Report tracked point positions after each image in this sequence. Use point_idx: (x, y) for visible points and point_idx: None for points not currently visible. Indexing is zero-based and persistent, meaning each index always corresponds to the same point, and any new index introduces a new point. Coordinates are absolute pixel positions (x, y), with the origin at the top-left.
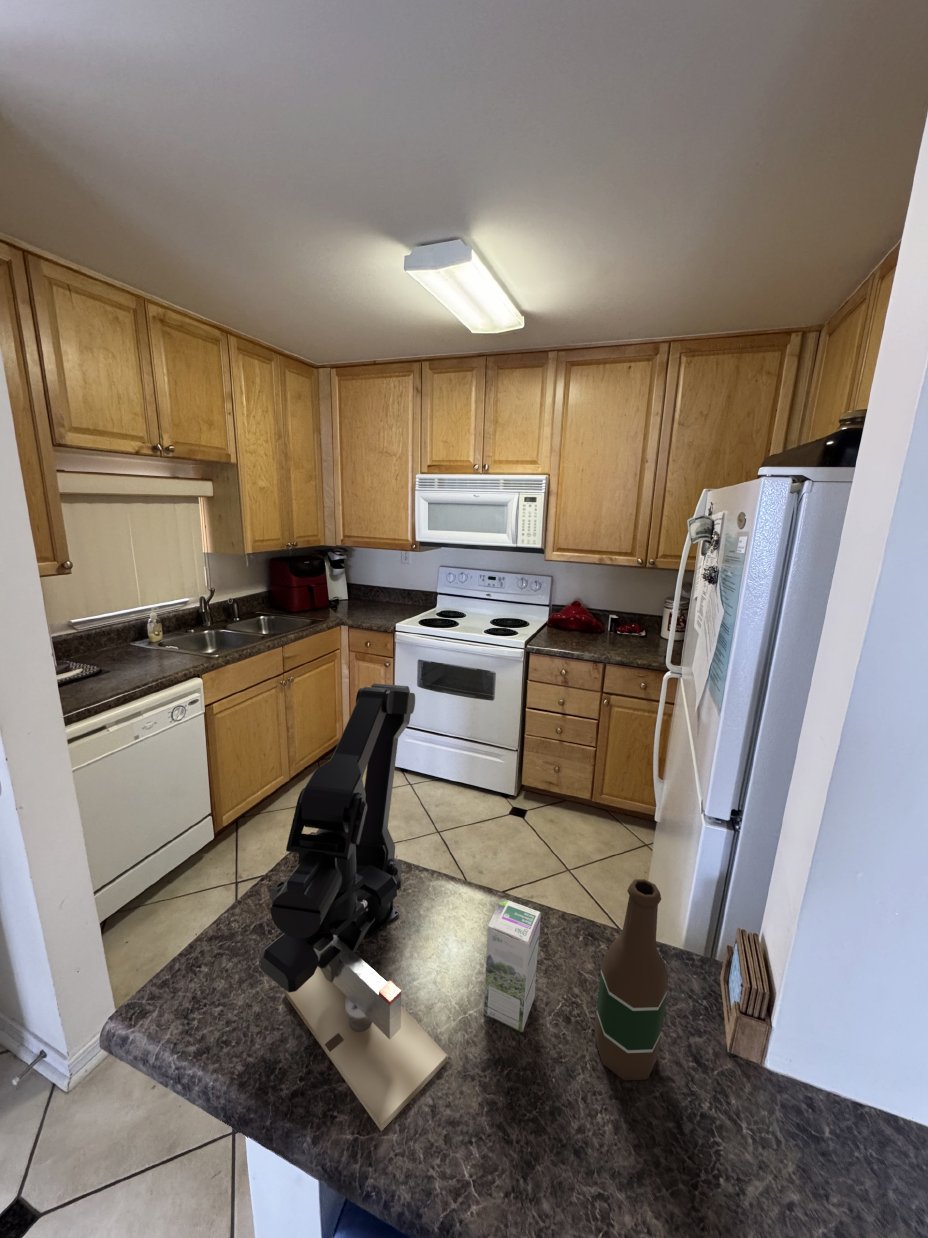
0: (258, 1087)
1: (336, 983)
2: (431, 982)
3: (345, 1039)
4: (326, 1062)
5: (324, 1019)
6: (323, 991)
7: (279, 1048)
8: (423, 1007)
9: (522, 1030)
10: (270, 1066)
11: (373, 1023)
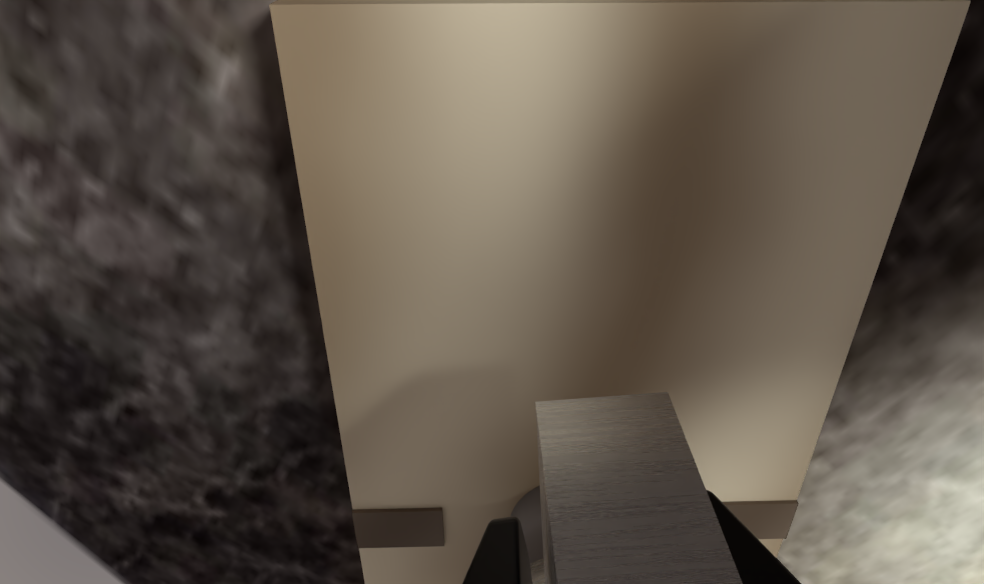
0: (5, 418)
1: (544, 552)
2: (980, 526)
3: (454, 542)
4: (344, 509)
5: (419, 414)
6: (521, 255)
7: (147, 325)
8: (834, 576)
9: None
10: (80, 374)
11: None
